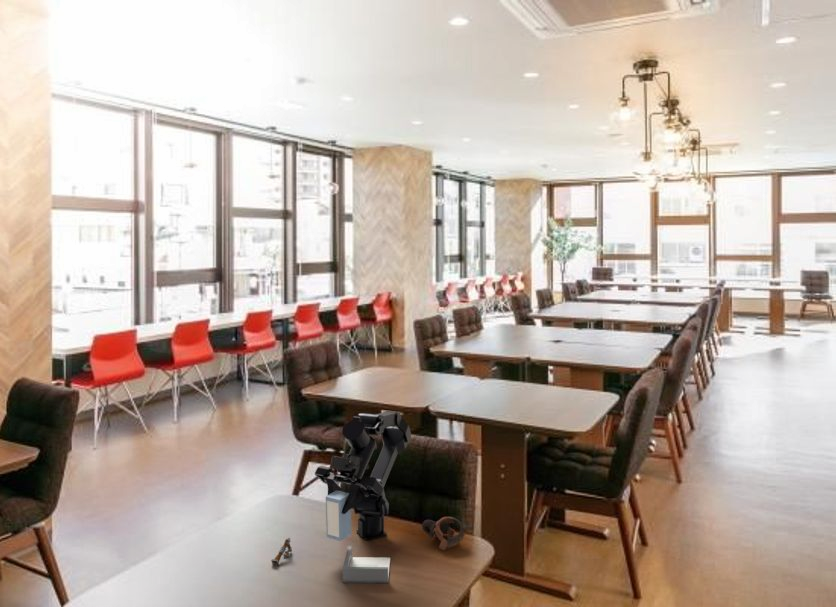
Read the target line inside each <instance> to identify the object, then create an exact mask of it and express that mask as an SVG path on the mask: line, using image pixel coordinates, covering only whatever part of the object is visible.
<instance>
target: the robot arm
mask: <svg viewBox="0 0 836 607" xmlns="http://www.w3.org/2000/svg"><path fill="white" fill-rule="evenodd" d="M341 432H342V436H343V437H344V439H345V440H346V442H347V444H348V445H349V446H350V447H351V449H350V450H349V453H345V454H344V455H343V457H340V456H338V455H331V461H330V463H329V464H330V465H329V467H328V466H324V465H319V466H318V467H317V468H316V470H315V471H314V476H316V477H317V479H319V480H320V481H321V482H322V483H323V484H326V485H327V495H329V494H331V493H333V492H334V491H336V490H338V491H342V490H343V488H342V487H340V483H341V484H342V483H343V484H347V485H350V488H349V492H348V493H349V495H348V497H347V500H346V502H345V504H344V507H343V510H342V513H343V514H345V513H347V512H348V511H349V510H350V509H351V510H352V508H353V509H354V510H353V511H354V515H355V514H356V515H358V514H359V515H358V517H359V518H358V519H357V529H356V534H358V535H360V536H361V537H362V538H363V539H365V540H366V541H370V540H374V539H376V538H380V537H381V538H382V537H384V536H387V535H388V534H387V531H385V516H388V515H389V510H390V508H389V506H390V503H389V501H388V499H387V498H386V494H385V490H384V489H385V488H384V487H385V485H386V483H387V480H388V478H389V476H390V474H391V470H392V468H393V466H394V464H395V461H396V458H397V456H398V454H400V453H401V452H403V451H404V450H406V448H407V446H408V444H409V443H410V442H411V437H412V433H411V428H410V426H409V423H407V421H406V420H405V419H404V418H402V415H401V412H399V411H393V410H392V411H391V410H385V411H383V412H380V413H364V412H360V413H358V415H357V416H353V417H352V420H350V421H348V422H346V423H345V424H344V426H343V427H342V431H341ZM380 435H381V439H382V443H383V446H382V449H381V451H380V453H379V456H378V458H377V460H376V462H375V465H374V467H373V469H372V471H371V473H370V476H368V475H364V474H365V472H366V470H367V471H368V470H369V469H370V465H369V462H370V460H371V457H372V455H373V452H374V450H377V449H378V445H377V441H376V440H377V439H376V438H373V437H372V436H378V437H379V436H380ZM334 469H336V471H337V472H336V471H334Z"/></svg>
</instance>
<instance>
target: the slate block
mask: <svg viewBox="0 0 836 607" xmlns="http://www.w3.org/2000/svg"><path fill="white" fill-rule="evenodd" d="M349 493H350V492H345V491H342V490H341V491H338V490H336V491H334V492H333V493H331V494H329V495H328V494H327V495H326V496H325V518H326V521H325V522H326V524H325V525H326V537H327V538H328V539H331V540H335V541H338V542H343V541H344V540H345V539H347V538H348V537H350V536H351V535H352V508H351V509H350V510H349V511H348V512H347V513H345V514H343V513H342V510H343V507H344V504H345V502H346V500H347V497H348V495H349Z"/></svg>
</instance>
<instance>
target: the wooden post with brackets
mask: <svg viewBox="0 0 836 607" xmlns="http://www.w3.org/2000/svg"><path fill="white" fill-rule="evenodd" d="M290 543H291V538H290V537H288V538H286V539H285V541H284V543H283V545H282V546H281V548H280V549H279V550H278V554H277V555H276V556H275V557H274V558H273V559H271V563H272V565H276V566H280V560H281V559H282V556H283V558H284V559H286V558H288V556H290V553H292V552H293V550H292V546H291V544H290Z"/></svg>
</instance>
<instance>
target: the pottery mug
mask: <svg viewBox="0 0 836 607" xmlns="http://www.w3.org/2000/svg"><path fill="white" fill-rule="evenodd" d="M454 523H455V524H456V525H458V526H459V532H458V534H456V535H455V533H456V530H455V529H453V528H451V527H450V526H451V524H454ZM421 527H422V530H423V532H424V533H426V534H427V535H428V537H429V539H430V540H433V538H437V539H438V540H439V541H440V544H439V545H438V547H439V550H442V551H445V550H447V549H449V548H453V547H456V546H458V545H459V544H460V543H461V542H462V541H463V539H464V537H465V535H466V534H465V531H464V525H463V523H462V522H461V521H460V520H459V519H458V518H456V517H454V516H453V517H452V516H443V517H441V518H440V519H439V520H437V521H434V520H432V519H425V520H424V521H423V522H422V524H421ZM444 535H447V536H446V537H444Z"/></svg>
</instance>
